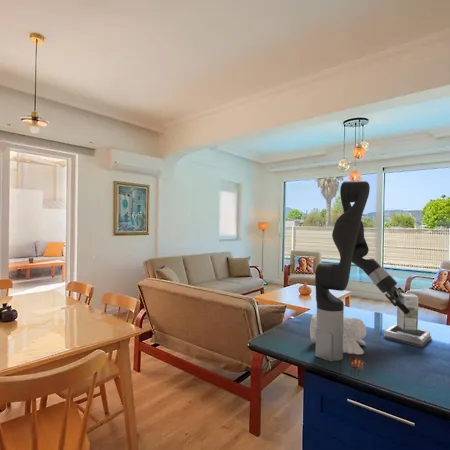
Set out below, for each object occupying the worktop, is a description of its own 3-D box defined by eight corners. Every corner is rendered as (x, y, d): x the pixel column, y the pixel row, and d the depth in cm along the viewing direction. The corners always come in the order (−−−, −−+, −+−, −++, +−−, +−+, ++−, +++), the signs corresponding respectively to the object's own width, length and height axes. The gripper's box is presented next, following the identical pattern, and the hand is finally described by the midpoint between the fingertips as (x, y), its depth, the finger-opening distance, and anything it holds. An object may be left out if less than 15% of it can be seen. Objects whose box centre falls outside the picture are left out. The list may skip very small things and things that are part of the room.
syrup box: (410, 326, 130) (411, 292, 130) (418, 331, 125) (418, 296, 124) (396, 325, 131) (397, 292, 131) (403, 330, 125) (404, 295, 125)
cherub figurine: (317, 310, 131) (367, 313, 120) (320, 340, 130) (371, 345, 119) (308, 317, 120) (362, 321, 109) (310, 349, 119) (366, 356, 108)
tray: (421, 347, 118) (421, 340, 118) (383, 337, 128) (383, 330, 128) (431, 338, 127) (431, 331, 127) (394, 330, 138) (395, 323, 138)
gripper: (382, 276, 128) (413, 309, 120) (394, 272, 138) (423, 303, 130) (369, 286, 132) (398, 319, 124) (382, 282, 142) (409, 312, 134)
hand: (411, 311), depth 127 cm, fingers closed on syrup box, 8 cm apart
